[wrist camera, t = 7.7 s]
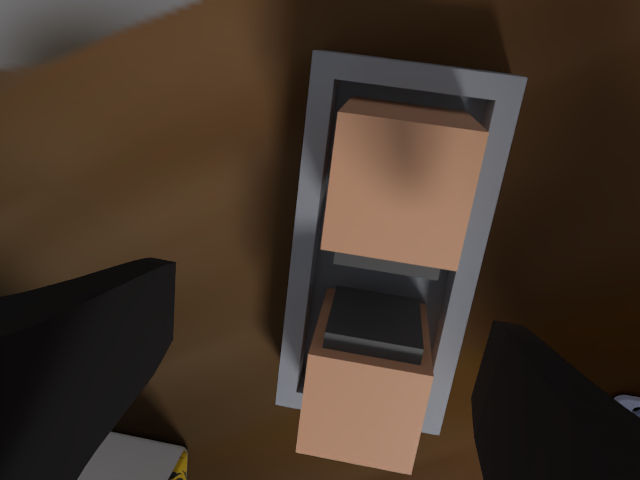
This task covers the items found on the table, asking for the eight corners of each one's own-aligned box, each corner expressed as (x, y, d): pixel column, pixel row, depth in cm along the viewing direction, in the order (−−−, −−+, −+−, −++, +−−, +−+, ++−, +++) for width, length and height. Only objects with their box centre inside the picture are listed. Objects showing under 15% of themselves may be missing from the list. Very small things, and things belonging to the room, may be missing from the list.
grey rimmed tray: (323, 49, 19) (292, 50, 14) (511, 73, 19) (559, 85, 13) (287, 370, 24) (254, 466, 19) (435, 397, 24) (446, 505, 18)
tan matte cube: (352, 95, 19) (337, 111, 14) (466, 111, 18) (489, 132, 14) (336, 217, 20) (317, 267, 16) (440, 233, 20) (452, 290, 15)
